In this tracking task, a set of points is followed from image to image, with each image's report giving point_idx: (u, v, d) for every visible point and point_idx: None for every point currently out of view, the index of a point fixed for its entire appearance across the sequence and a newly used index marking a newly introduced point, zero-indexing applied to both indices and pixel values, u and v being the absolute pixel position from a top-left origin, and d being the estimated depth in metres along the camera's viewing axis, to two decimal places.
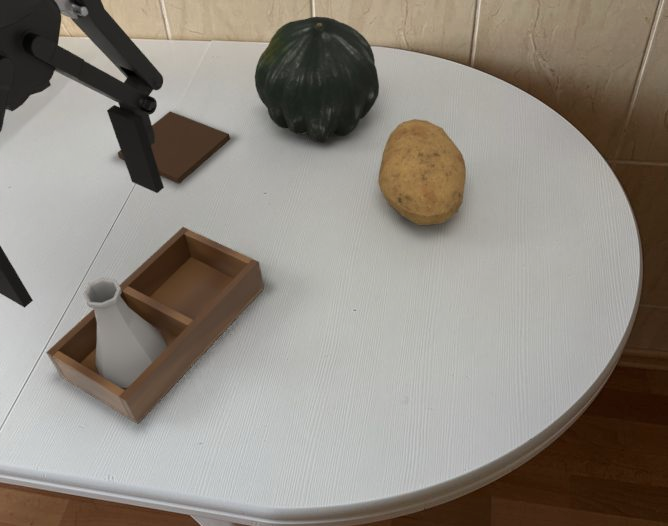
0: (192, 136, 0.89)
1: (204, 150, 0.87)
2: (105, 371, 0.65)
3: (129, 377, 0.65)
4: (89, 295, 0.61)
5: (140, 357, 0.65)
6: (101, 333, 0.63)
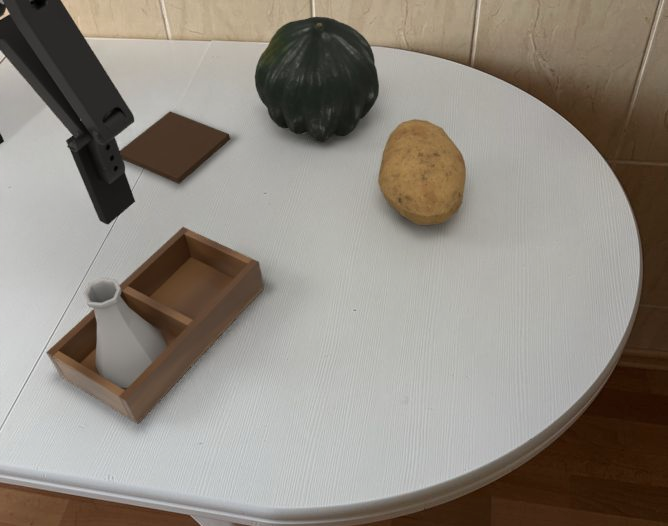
0: (192, 136, 0.89)
1: (204, 150, 0.87)
2: (106, 371, 0.65)
3: (129, 377, 0.65)
4: (89, 295, 0.61)
5: (140, 357, 0.65)
6: (101, 333, 0.63)
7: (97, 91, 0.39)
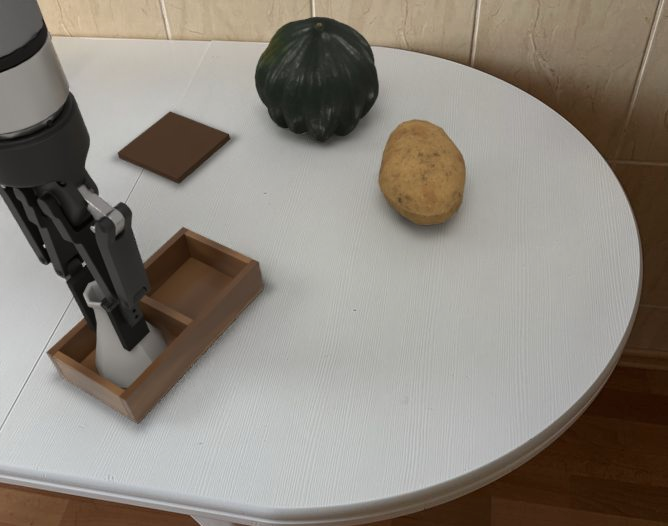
0: (192, 136, 0.89)
1: (204, 150, 0.87)
2: (105, 371, 0.65)
3: (129, 377, 0.65)
4: (89, 295, 0.61)
5: (140, 357, 0.65)
6: (101, 333, 0.63)
7: (135, 280, 0.55)
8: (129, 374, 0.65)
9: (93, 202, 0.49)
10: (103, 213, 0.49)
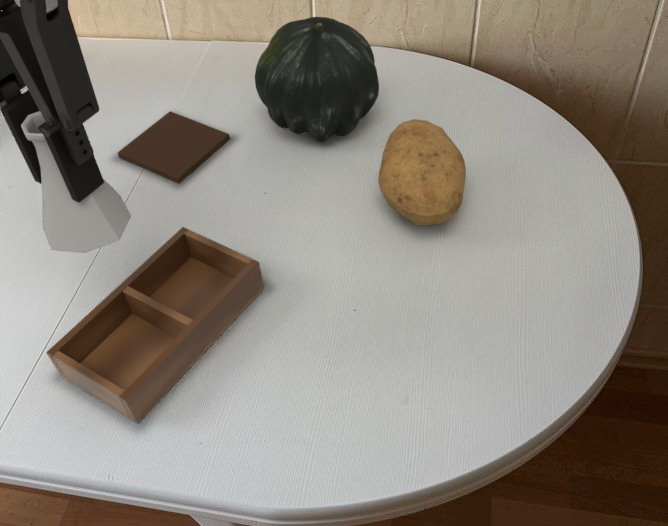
0: (192, 136, 0.89)
1: (204, 150, 0.87)
2: (52, 231, 0.55)
3: (80, 238, 0.55)
4: (29, 128, 0.51)
5: (93, 213, 0.55)
6: (45, 179, 0.53)
7: (77, 90, 0.45)
8: (80, 234, 0.55)
9: None
10: None
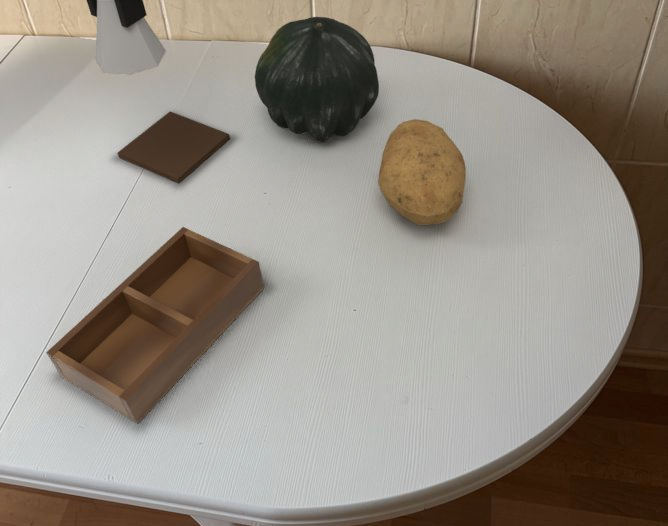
0: (192, 136, 0.89)
1: (204, 150, 0.87)
2: (105, 55, 0.69)
3: (127, 61, 0.69)
4: None
5: (137, 40, 0.69)
6: (101, 8, 0.67)
7: None
8: (127, 57, 0.69)
9: None
10: None
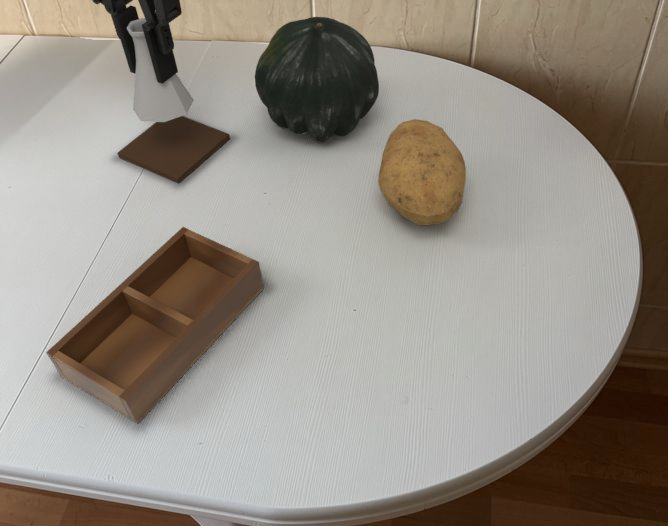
0: (192, 136, 0.89)
1: (204, 150, 0.87)
2: (142, 106, 0.81)
3: (161, 111, 0.81)
4: (131, 30, 0.76)
5: (170, 93, 0.80)
6: (140, 67, 0.78)
7: None
8: (161, 108, 0.81)
9: None
10: None
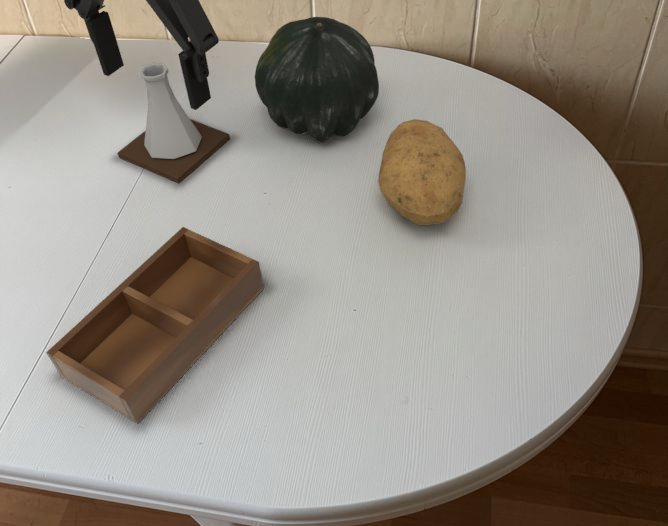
0: None
1: (204, 150, 0.87)
2: (153, 144, 0.85)
3: (171, 148, 0.85)
4: (144, 74, 0.81)
5: (180, 132, 0.85)
6: (151, 108, 0.83)
7: (200, 23, 0.71)
8: (171, 145, 0.85)
9: None
10: None
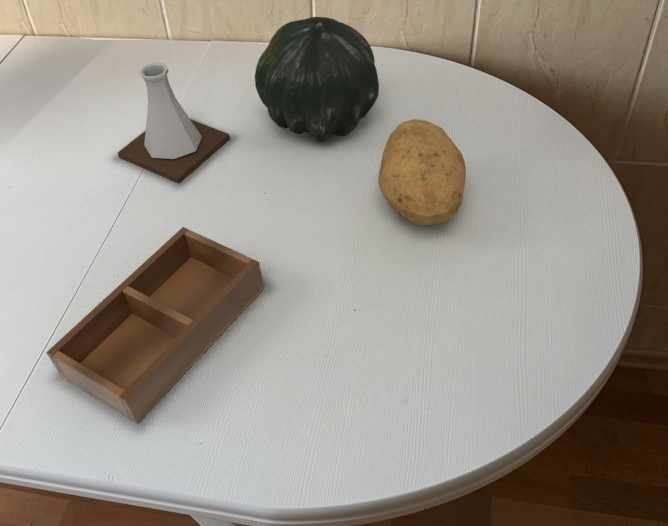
0: None
1: (204, 150, 0.87)
2: (153, 144, 0.85)
3: (171, 148, 0.85)
4: (144, 74, 0.81)
5: (180, 132, 0.85)
6: (151, 108, 0.83)
7: None
8: (171, 145, 0.85)
9: None
10: None
